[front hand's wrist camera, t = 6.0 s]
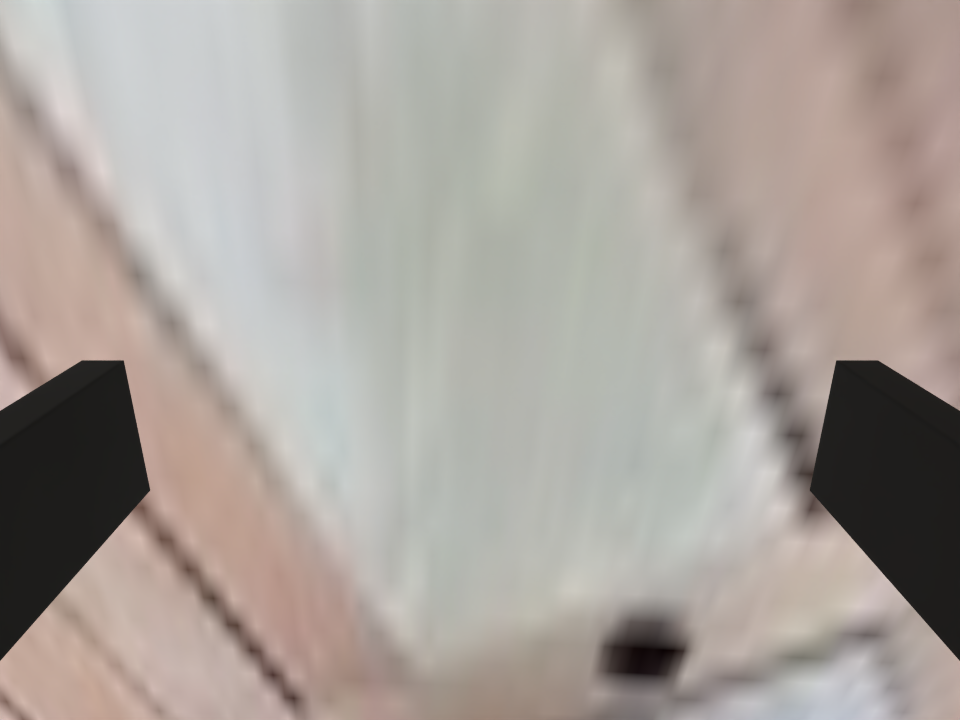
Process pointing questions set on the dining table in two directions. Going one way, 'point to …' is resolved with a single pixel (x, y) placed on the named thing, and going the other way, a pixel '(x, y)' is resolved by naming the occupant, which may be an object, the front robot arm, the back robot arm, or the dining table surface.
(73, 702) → the dining table surface
